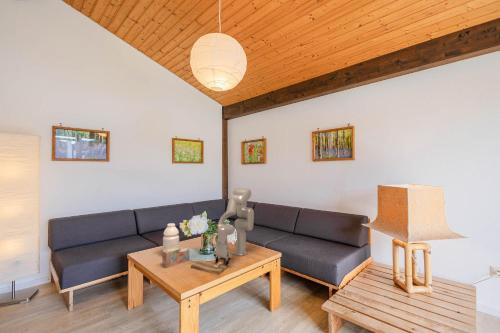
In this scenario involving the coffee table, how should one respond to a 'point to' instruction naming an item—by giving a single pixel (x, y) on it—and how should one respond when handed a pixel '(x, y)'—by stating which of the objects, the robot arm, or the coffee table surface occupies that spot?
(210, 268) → the board
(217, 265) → the gauge
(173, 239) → the bottle
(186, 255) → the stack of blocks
